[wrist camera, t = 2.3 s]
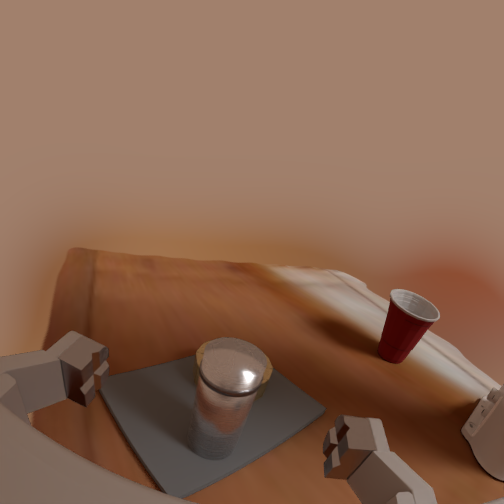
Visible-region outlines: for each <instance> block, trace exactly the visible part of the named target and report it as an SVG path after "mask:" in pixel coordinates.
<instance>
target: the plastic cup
mask: <svg viewBox="0 0 504 504" xmlns="http://www.w3.org/2000/svg"><path fill="white" fill-rule="evenodd" d="M390 297H391V298H390V305H389V309H388V314H387V318H386V321H385V325H384V328H383V332H382V335H381V336H382V337H381V340H380V343H379V346H378V354H379V355H380V356H381V357H382V358H383V359H385V360H386V361H388V362H391V363H395V364H396V363H401V362H402V361H403V360H404V359H405V358H406V357H407V355H408V354H409V353H410V351H411V350H412V349H413V348H414V347H415V346H416V344H417V343H418V342H419V340H420V339H421V338H422V336H423V335H424V334H425V332H426V331H427V329H429V327H430V326H431V325H432V324H433V323H434V322H435V321H437V320H438V319H439V318H440V313H439V311H438V310H437V308H436V307H435V306H434V305H432V303H431V302H429V301H428V300H426V299H425V298H423V297H421V296H419V295H417V294H415V293H413V292H410V291H407V290H403V289H394V290H392V291H391V293H390Z"/></svg>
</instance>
